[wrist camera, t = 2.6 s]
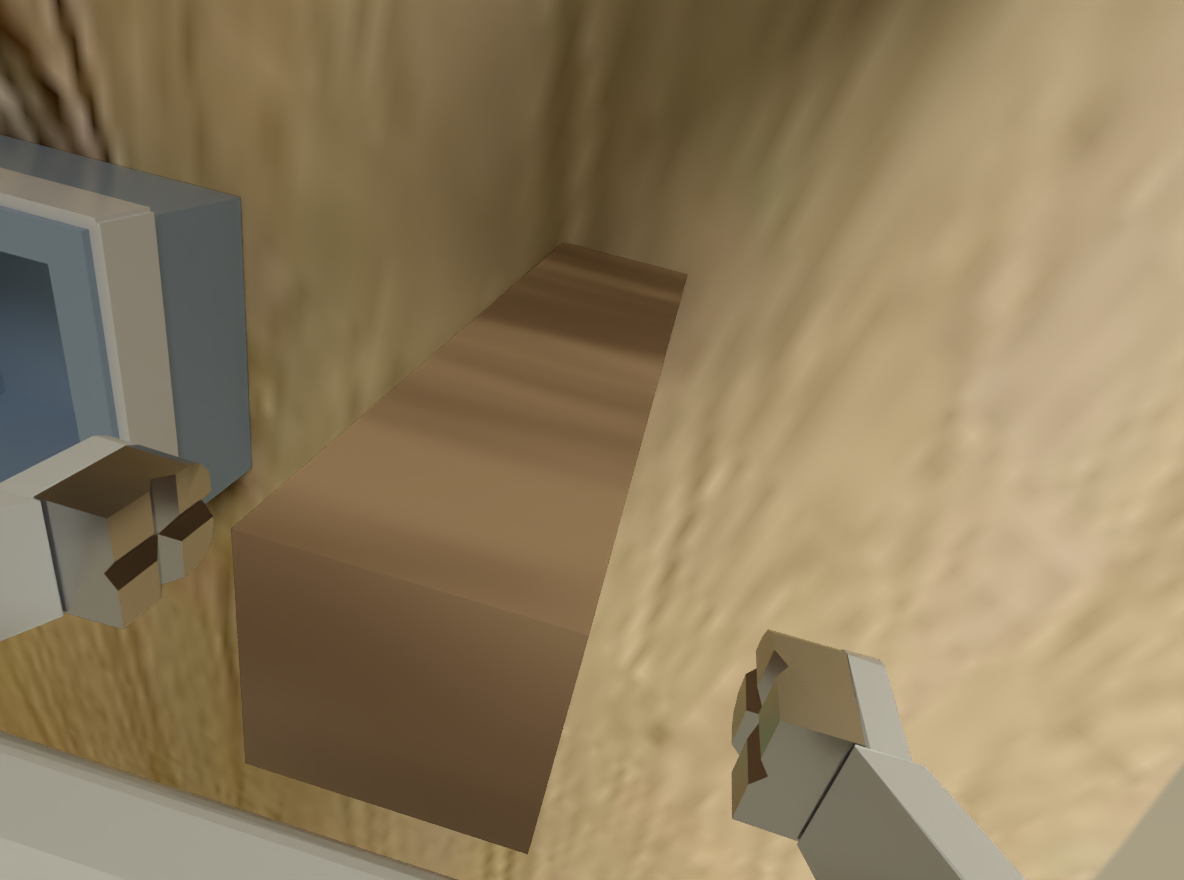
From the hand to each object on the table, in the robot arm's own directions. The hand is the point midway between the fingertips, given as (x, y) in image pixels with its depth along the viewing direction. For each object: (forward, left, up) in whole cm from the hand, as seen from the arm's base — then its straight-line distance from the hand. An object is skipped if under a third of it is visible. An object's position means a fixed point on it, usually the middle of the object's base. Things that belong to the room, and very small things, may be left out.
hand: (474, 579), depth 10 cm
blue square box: (+4, -16, -11) cm, 20 cm away
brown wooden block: (0, 0, -11) cm, 11 cm away
